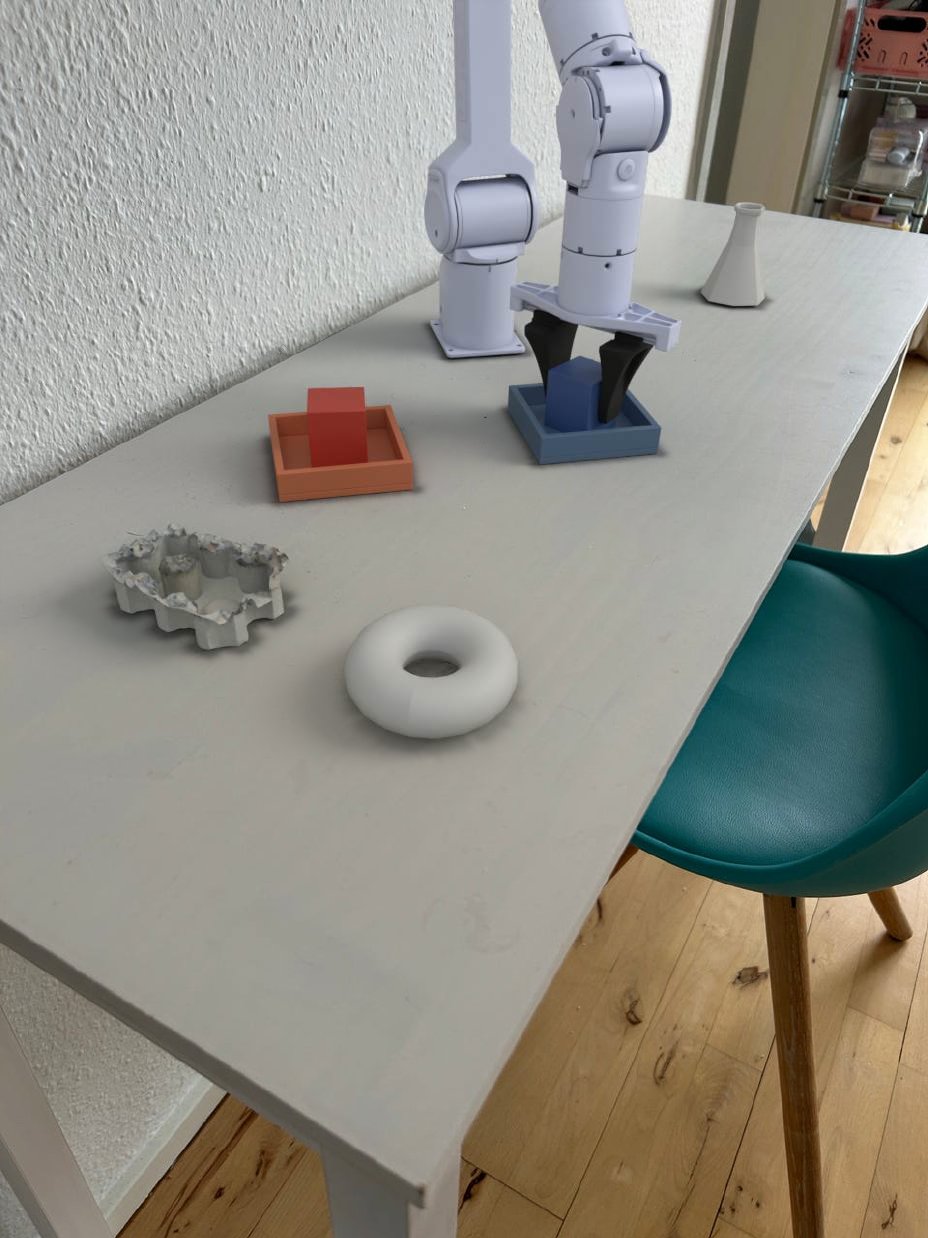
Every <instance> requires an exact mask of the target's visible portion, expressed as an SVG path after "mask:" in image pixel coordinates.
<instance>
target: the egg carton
mask: <svg viewBox="0 0 928 1238" xmlns="http://www.w3.org/2000/svg"><path fill="white" fill-rule="evenodd" d="M96 558H97V560H98V561H99V563H100V564H101V565H102V566H103V567H104V569H105V570H106V571H107V572H108V573H110V574H111V575H112V576H113V586H114V590H115V592H116V597H117V602H118V605H119V608H120V610H121V611H123V612H125V613H128V614H136V613H137V612H145V611H147V610H154V614H155V618H156V624H157V626H158V628H159V629H161V631H164V632H167V633H170V632H174V631H176V630H179V629H188V628H190V629H194V631H195V636H196V643H197V645H198V646H199V648H201V649H202V650H206V651H211V650H213V649H220V648H223V647H240V646H241V645H243V644H244V643H246V642H248V640H249V631H248V625H249V624H250V623H251V622H253V621H254V620H259V619H270V620H276V619H277V618H278V617H280V616H281V615H282V614H284V613H285V609H284V608H285V607H284V599H283V592H282V586H281V579H280V578H281V577H280V574H281V573H282V572H283V571H284V568H285V566H286V565H288V564H289V562H290V559H289V556H288V555H287V553H286V552H283V551H280V550H279V548H278V547H274V546H268V545H267V544H266V543H257V542H254V544H253V546H250V545H248V544H246V543H245V542H244V541H241V540H238V541H236V542H235V541H233V540H228V539H226V538H225V537H223V536H221V535H217V534H212V533H200V532H198V531H193V532H191V533H188V532H187V530H186V528H185V526H183V525H181V524H175V523H173V522H171V523H169V524H168V525H167V529H166V530H165V531H163V532H162V533H158V531H156V529H152V530H150V532H149V533H148V534H147V536H146V537H139V538H136V539H135V540H134V541H132V542H131V543H126V544H121V546H120V548H119V550H117V551H114V552H110V553H107V554H106V553H105V554H101V555H98V556H97V557H96Z"/></svg>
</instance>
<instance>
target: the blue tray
mask: <svg viewBox="0 0 928 1238" xmlns="http://www.w3.org/2000/svg"><path fill="white" fill-rule="evenodd" d="M545 409H546V397H545V391H544V386H543V382H537V383H535V382H534V383H523V384H522V383H521V384H510V385H508V396H507V412H508V413H509V415H510V416H511V418H512V419H513V421H514V423H515V425H516V428H517V429H518V430H519V432H520V434H521V435H522V437H523V439H524V440H525V442H526V444H527V445H528V447H529V449H530V451H531V452H532V454H533V455H534V457H535V459H536V460H537V462H538V464H539V465H548V464H549V465H550V464H559V463H570V462H571V463H572V462H580V461H592V460H602V459H612V458H613V459H614V458H624V457H636V456H645V455H646V456H647V455H657V454H658V452H659V446H660V445H659V444H660V439H661V432H662V426H661V425H660V424H659V422H657V421H656V419H655V418H654V416H652V414H651V413H650V412H649V411H648V410H647V409H646V408H645V407H644V405H643V404H642V403H641V401H639V400H638V399H637V396H635V394H633V392H632V391H631V390H630V389H629V388H628V389H627V391H626V394H625V396H624V399H623V401H622V404H621V407H620V410H619V413H618V416H617V417H616V423H615V425H614V426H612V427H610V428H608V429H602V430H591V431H579V432H568V433H563V432H560V431H558V430H555V429H553V428H550V427H548V426H545V425H544V421H545Z"/></svg>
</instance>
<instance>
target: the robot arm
mask: <svg viewBox="0 0 928 1238" xmlns="http://www.w3.org/2000/svg"><path fill="white" fill-rule="evenodd" d="M537 7H538V12H539V15H540V18H541V22H542V25H543V30H544V32H545V36H546V39H547V43H548V46H549V49H550V52H551V55H552V59H553V62H554V65H555V69H556V72H557V77H558V79H559V83H560V86H561V91H560V94H559V100H558V104H556V105H555V127H556V132H557V138H558V141H559V147H560V163H559V165H560V166H559V170H560V171H561V173H560V174H561V179H563V180H564V181H565V183H566V184H565V197H564V199H565V200H564V207H563V208H564V209H563V221H562V234H561V244H560V245H561V246H560V247H561V248H560V258H559V259H560V260H559V272H558V282H557V283H558V285H554V284H545V283H537V282H533V281H528V280H522V281H520V282H517V278H518V277H517V276H518V260H519V256H524V255H525V251H526V245H527V246H528V245H529V244H530V243H532V241H533V240H534V238H535V236H536V234H537V232H538V229H539V225H540V221H541V220H540V219H541V205H540V198H539V194H538V191H537V190H538V189H537V183H536V170H535V163H534V162H533V161H532V159H531V158H530V157H529V156H528V155H527V154H526V153H524V151H522V150H521V149H520V148H519V147H517V146H516V145H515V143H513V142H512V0H452V19H453V20H452V23H453V24H452V25H453V61H454V63H453V65H454V67H453V68H454V100H455V102H454V103H455V104H454V105H455V139H454V140H453V142H451V144H449V145H448V147H446V148H445V149H444V150H443V151H442V152H441V153H440V154H439V155H438V156H437V157H436V158H435V159H434V160H433V161H432V162H431V163H430V164H429V165H428V167H427V181H426V182H427V183H426V184H427V185H426V195H425V198H424V206H423V216H424V217H423V218H424V226H425V230H426V231H425V232H426V235H427V237H428V240H429V242H430V244H431V246H432V247H433V248H434V249H435V250H436V252H437V253H439V254H441V255H442V256H441V259H440V262H439V267H438V269H439V272H438V273H439V274H438V275H439V278H438V279H439V281H438V282H439V283H438V285H439V286H438V287H439V289H438V290H439V291H438V292H439V293H438V294H439V295H438V298H439V299H438V315H439V316H438V318H434V319H431V320H429V325H430V327H431V328H432V331H433V333H434V334H435V336H436V338H437V340H438V342H439V344H440V346H441V347H442V350H443V351H444V353H445V355H446V356H447V358H450V359H454V358H455V359H456V358H457V359H458V358H471V357H483V356H485V357H486V356H499V355H511V354H513V355H514V354H523V353H525V352H526V347H525V345H524V344H523V342H522V341H521V339H520V338H519V337H518V335H517V334H516V333H515V315H516V312H519V313H520V312H523V311H527V312H531V313H532V317H531V321H529V322H528V323H526V324H525V325H524V329H523V332H524V334H523V335H524V337H525V339H526V340H527V342H528V344H529V345H530V348H531V350H532V352H533V354H534V356H535V360H536V362H537V365H538V368H539V372H540V376H541V381H542V383H543V386H544V391H545V397H546V396H547V383H548V371H549V370H550V369H552V368H554V367H556V366H558V365H561V364H563V363H565V362H567V361H569V360H571V359H572V353H573V347H574V344H575V339H576V336H577V331H578V328H579V326H582V327H586V328H590V329H593V330H596V331H601V332H604V333H608V334H611V335H614V337H613V339H609V340H608V341H606V342H605V343H603V344H601V345H599V347H598V354H599V360H600V361H599V362H601V371H602V389H601V397H600V405H599V422H601V423H604V424H607V423H609V422H610V421H612V420H613V419H614V418H616V417H617V416H618V413H619V410H620V407H621V404H622V401H623V399H624V396H625V394H626V391H627V389H629V387H630V385H631V383H632V380H633V379H634V377H635V375H636V373H637V372H638V370H639V368H640V367H641V365H642V364H643V362H644V360H645V359H646V358H647V356H649V355H648V354H649V353H650V352H651V350H652V349H653V348H654V349H655V350H657V351H660V352H665V353H667V352H669V351H670V350H672V349H675V347H677V346H678V345H679V339H680V335H681V327H682V323H683V321H682V320H681V319H677V318H673V317H671V316H668V315H665V314H662V313H660V312H658V311H656V310H653V309H651V308H649V307H646V306H645V305H642V304H641V303H637V302H636V301H634V300H631V295H632V288H633V280H634V272H635V265H636V257H637V249H638V241H639V234H640V226H641V217H642V211H643V203H644V195H645V187H646V178H647V172H648V163H649V156H650V155H649V154H650V153H651V154H652V153H654V152H655V151H657V150H659V148H660V147H661V145H663V143H664V141H665V139H666V137H667V135H668V132H669V128H670V124H671V120H672V112H673V111H672V110H673V98H672V97H673V96H672V91H671V86H670V81H669V75H668V73H667V71H666V69H665V68H664V66H663V65H662V64H661V63H660V62H658V61H656V60H653V59H652V58H651V56H650V53H649V50H646V49H645V48H640V47H639V46H638V43H637V40H636V36H635V33H634V29H633V27H632V23H631V19H630V17H629V13H628V10H627V7H626V3H625V0H538V1H537ZM502 175H503V176H502ZM489 176H497V177H489ZM498 176H499V177H498ZM479 177H487V178H479ZM469 178H477V179H469ZM466 179H467V180H466Z"/></svg>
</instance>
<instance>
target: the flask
mask: <svg viewBox="0 0 928 1238" xmlns="http://www.w3.org/2000/svg"><path fill="white" fill-rule="evenodd" d="M733 209H734V212H735V216H734V220H733V225H732V228H731V230H730V234H729V236H728V239H727V242H726V244H725V246H724V248H723V250H722V251H721V254H720V255H719V258H718V259H717V261H716V263H715V265H714V266H713V269H712V270H711V272H710V273H709V276H708V278H707V279H706V281H705V283H704V285H703V287H702V288H701V291H700V294H701V295H702V296H703V297H704V298H705V299H706V301H708V302H712V303H716V304H722V305H726V306H730V307H731V306H732V307H744V306H745V307H746V306H747V307H748V306H759V305H760V304H761V303H762V301H764V299H765V297H766V296H765V288H764V281H763V276H762V275H763V274H762V269H761V260H760V251H759V224H760V220H761V215H763V213H764V212H765V210H766V207H765V206H764V205H762V204H761V203H755V202H749V201H748V202H747V201H746V202H737V203H735V204H734V206H733Z"/></svg>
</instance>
